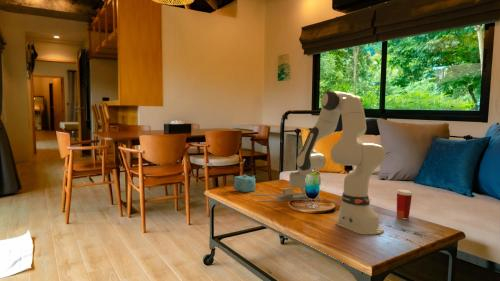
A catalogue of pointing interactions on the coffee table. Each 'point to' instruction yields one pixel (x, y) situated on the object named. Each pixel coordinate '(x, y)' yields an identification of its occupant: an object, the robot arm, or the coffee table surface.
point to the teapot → (244, 183)
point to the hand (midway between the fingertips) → (304, 193)
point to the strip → (294, 197)
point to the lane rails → (285, 200)
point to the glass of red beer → (403, 203)
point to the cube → (288, 193)
